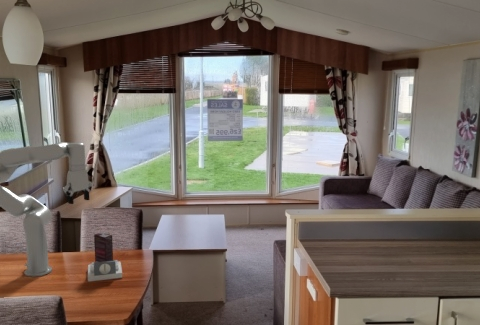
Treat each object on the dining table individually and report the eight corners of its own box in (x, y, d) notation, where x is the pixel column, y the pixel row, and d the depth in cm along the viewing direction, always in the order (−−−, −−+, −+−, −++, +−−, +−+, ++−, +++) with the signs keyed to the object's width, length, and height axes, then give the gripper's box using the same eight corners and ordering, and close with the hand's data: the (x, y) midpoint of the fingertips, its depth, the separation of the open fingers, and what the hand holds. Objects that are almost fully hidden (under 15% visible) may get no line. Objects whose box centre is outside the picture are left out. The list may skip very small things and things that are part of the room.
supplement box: (113, 265, 220) (112, 234, 217) (106, 268, 215) (105, 237, 213) (102, 261, 224) (101, 232, 222) (94, 264, 220) (93, 234, 218)
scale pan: (91, 264, 223) (91, 262, 223) (117, 262, 227) (117, 259, 227) (91, 272, 213) (91, 270, 213) (118, 269, 217) (118, 267, 217)
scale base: (88, 269, 224) (87, 253, 223) (120, 265, 229) (120, 250, 228) (87, 281, 209) (87, 265, 207) (122, 277, 214) (121, 261, 212)
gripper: (86, 165, 223) (87, 197, 226) (57, 169, 208) (59, 204, 211) (96, 166, 220) (97, 199, 222) (67, 170, 205) (69, 206, 207)
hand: (79, 201), depth 216 cm, fingers open, 9 cm apart
